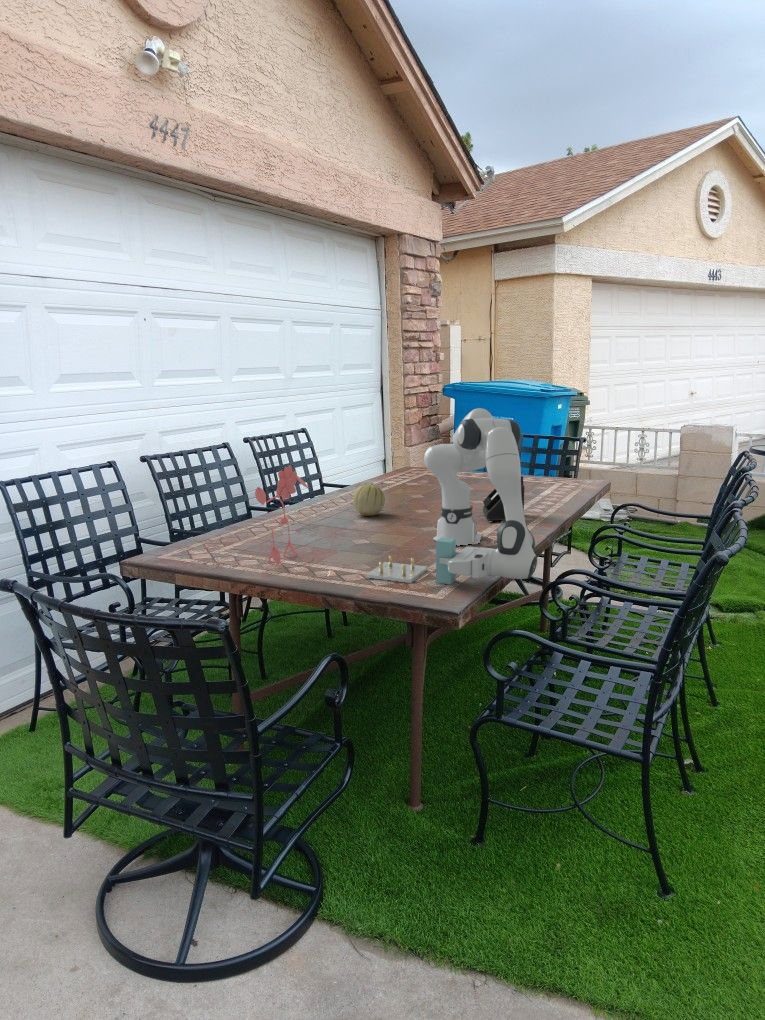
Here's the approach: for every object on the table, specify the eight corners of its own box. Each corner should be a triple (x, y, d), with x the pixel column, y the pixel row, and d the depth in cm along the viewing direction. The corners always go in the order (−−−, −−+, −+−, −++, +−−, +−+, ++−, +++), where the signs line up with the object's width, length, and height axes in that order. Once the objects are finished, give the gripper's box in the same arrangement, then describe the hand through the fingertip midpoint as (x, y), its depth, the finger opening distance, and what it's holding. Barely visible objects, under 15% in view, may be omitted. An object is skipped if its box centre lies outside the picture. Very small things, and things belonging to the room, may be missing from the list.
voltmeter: (482, 514, 335) (482, 471, 330) (518, 514, 334) (519, 471, 330) (485, 523, 319) (486, 477, 315) (523, 522, 318) (524, 477, 314)
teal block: (441, 578, 243) (441, 537, 240) (455, 579, 241) (455, 538, 238) (436, 582, 238) (436, 541, 235) (450, 584, 236) (451, 542, 233)
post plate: (384, 565, 258) (384, 552, 257) (427, 569, 252) (427, 556, 251) (366, 578, 244) (365, 564, 243) (410, 583, 238) (410, 569, 237)
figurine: (251, 567, 258) (248, 469, 250) (294, 550, 280) (292, 459, 272) (286, 574, 251) (284, 473, 243) (328, 555, 273) (327, 463, 265)
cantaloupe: (350, 518, 331) (349, 486, 328) (356, 511, 345) (355, 480, 342) (382, 519, 329) (382, 486, 325) (387, 512, 343) (387, 480, 340)
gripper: (493, 544, 241) (453, 540, 247) (475, 560, 223) (433, 556, 228) (492, 562, 243) (453, 558, 248) (475, 580, 224) (433, 575, 230)
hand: (443, 557), depth 238 cm, fingers closed on teal block, 5 cm apart
